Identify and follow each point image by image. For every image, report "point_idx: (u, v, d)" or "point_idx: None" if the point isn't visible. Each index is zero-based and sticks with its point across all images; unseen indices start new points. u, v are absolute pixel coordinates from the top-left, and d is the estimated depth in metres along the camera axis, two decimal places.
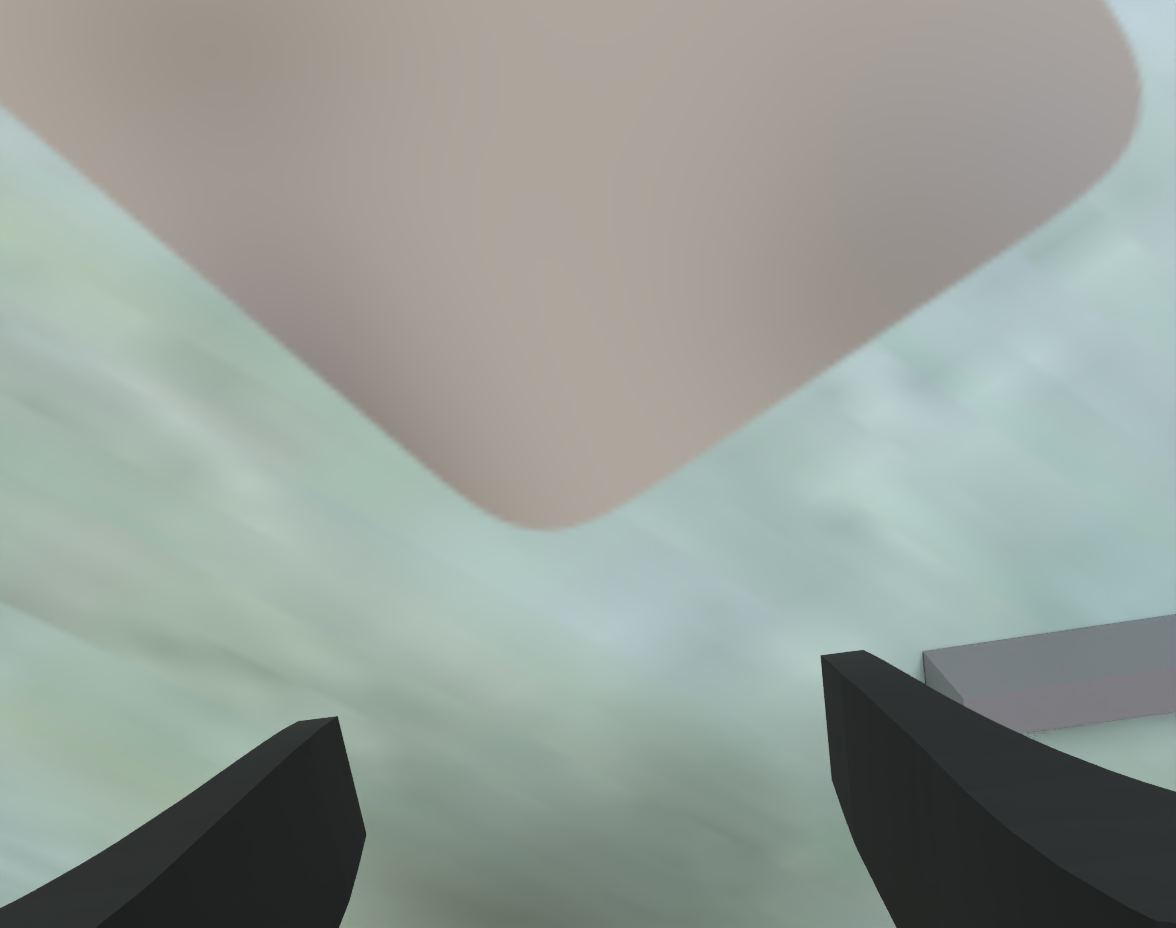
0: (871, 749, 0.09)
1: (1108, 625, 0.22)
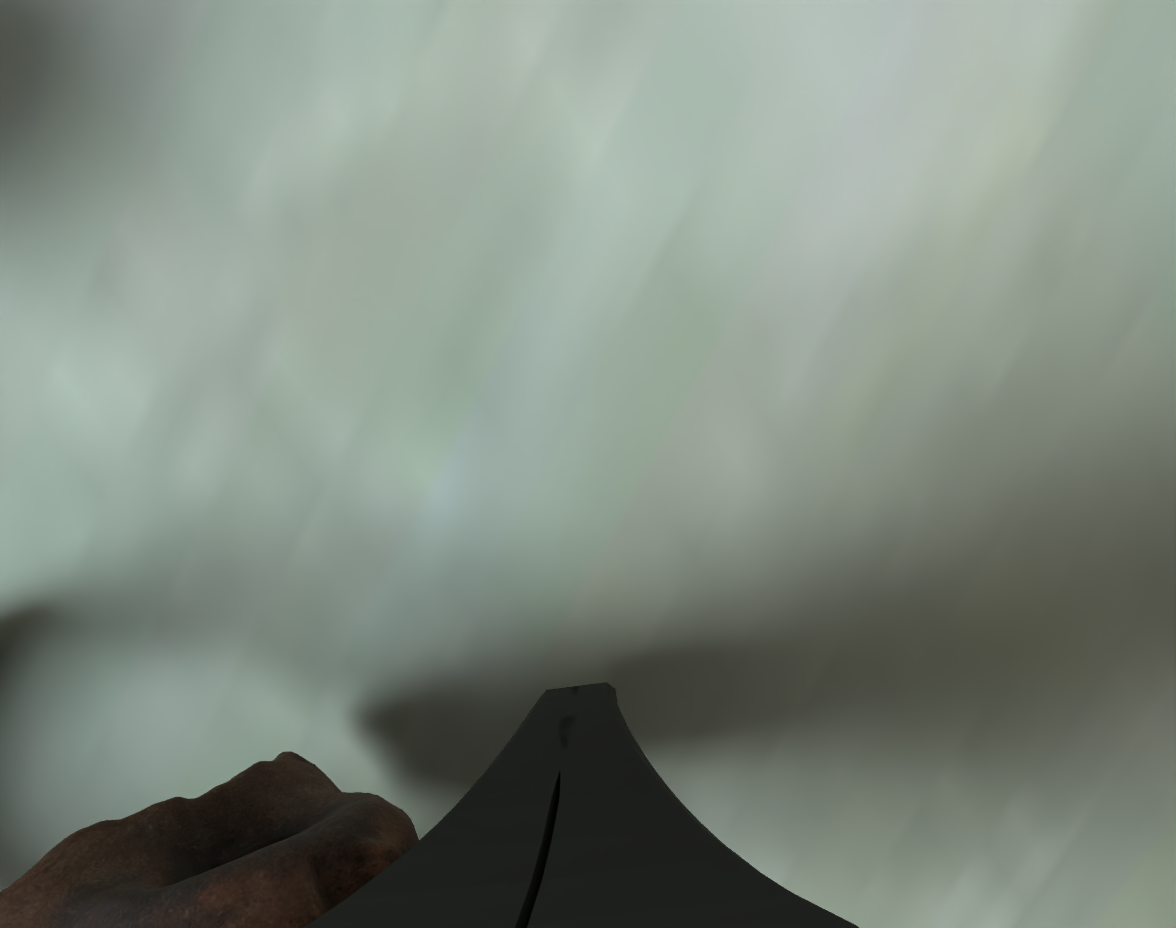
0: None
1: None
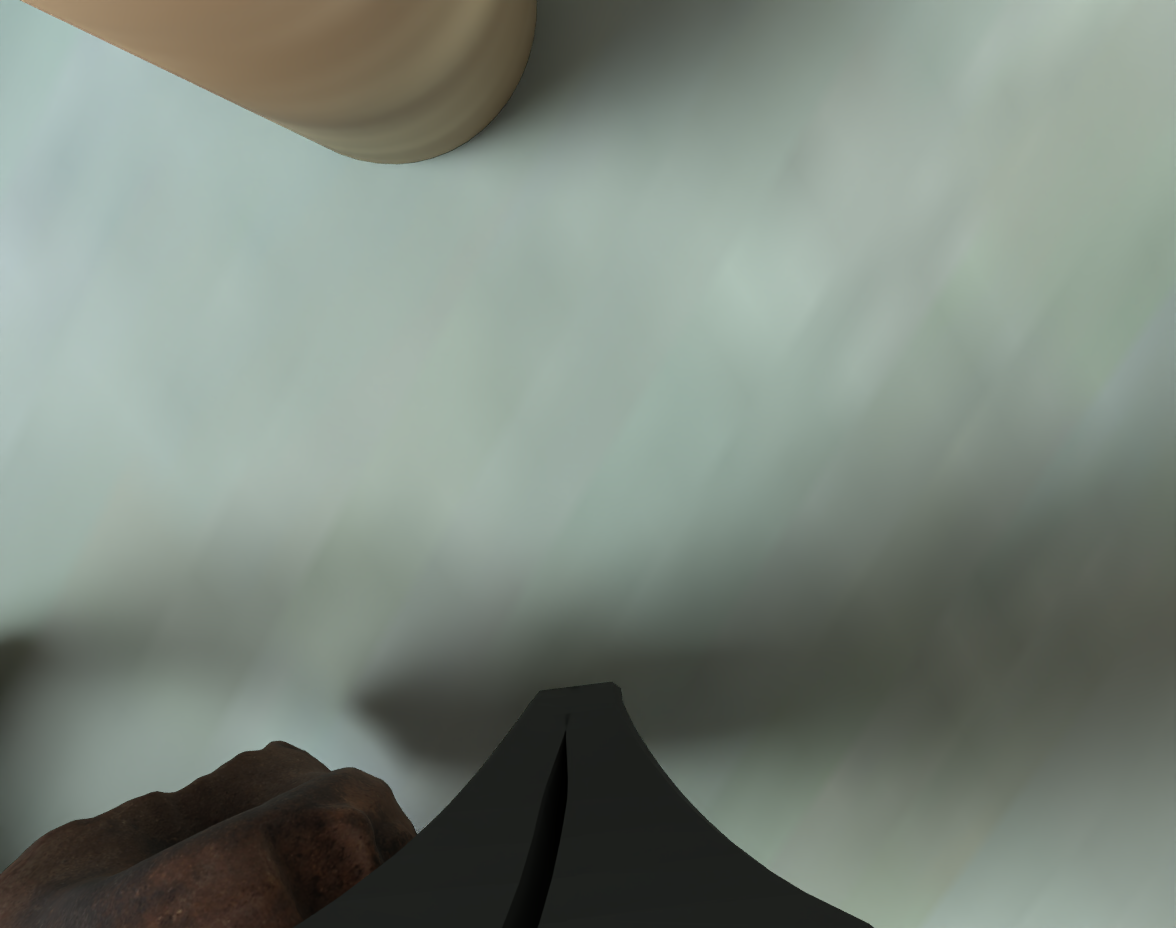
0: None
1: None
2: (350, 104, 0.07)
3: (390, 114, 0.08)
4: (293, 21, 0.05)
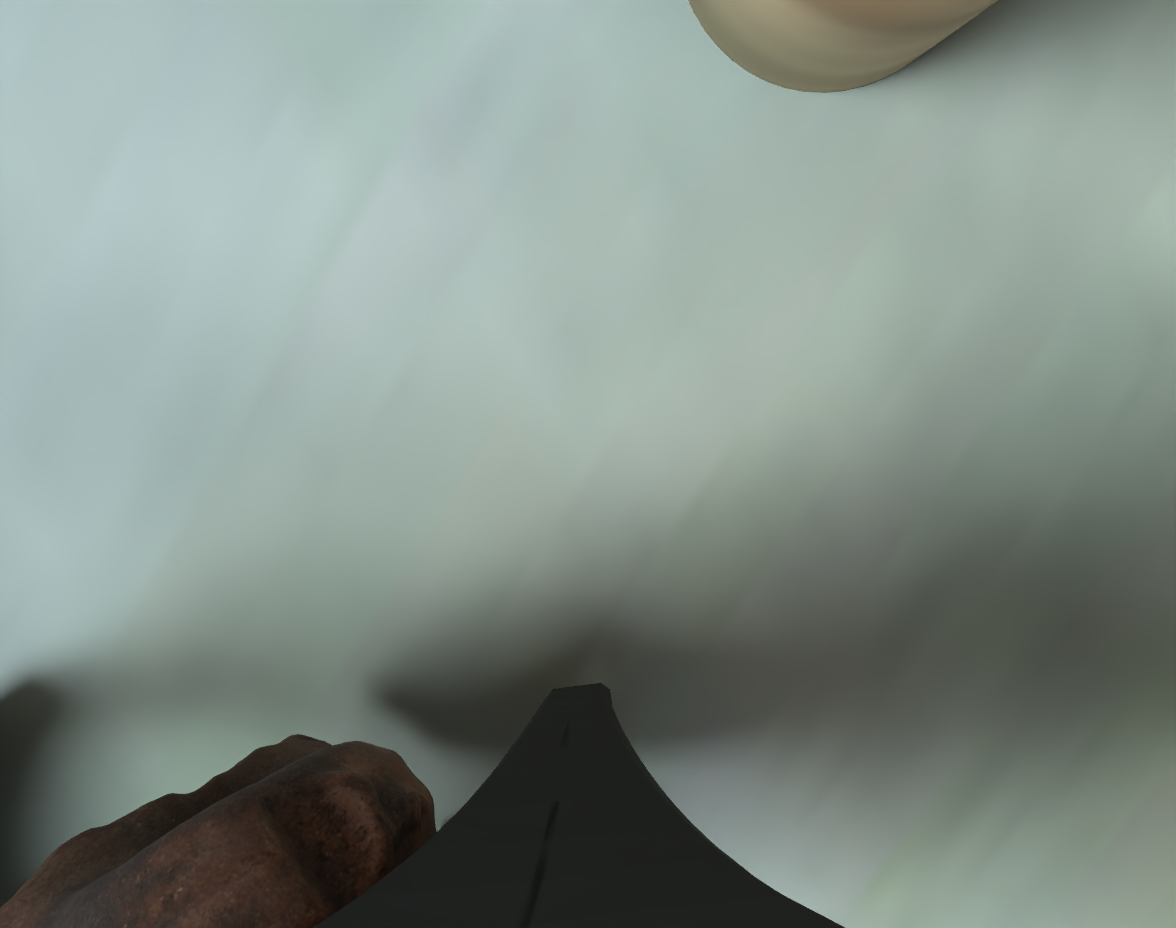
0: None
1: None
2: None
3: (962, 17, 0.08)
4: None
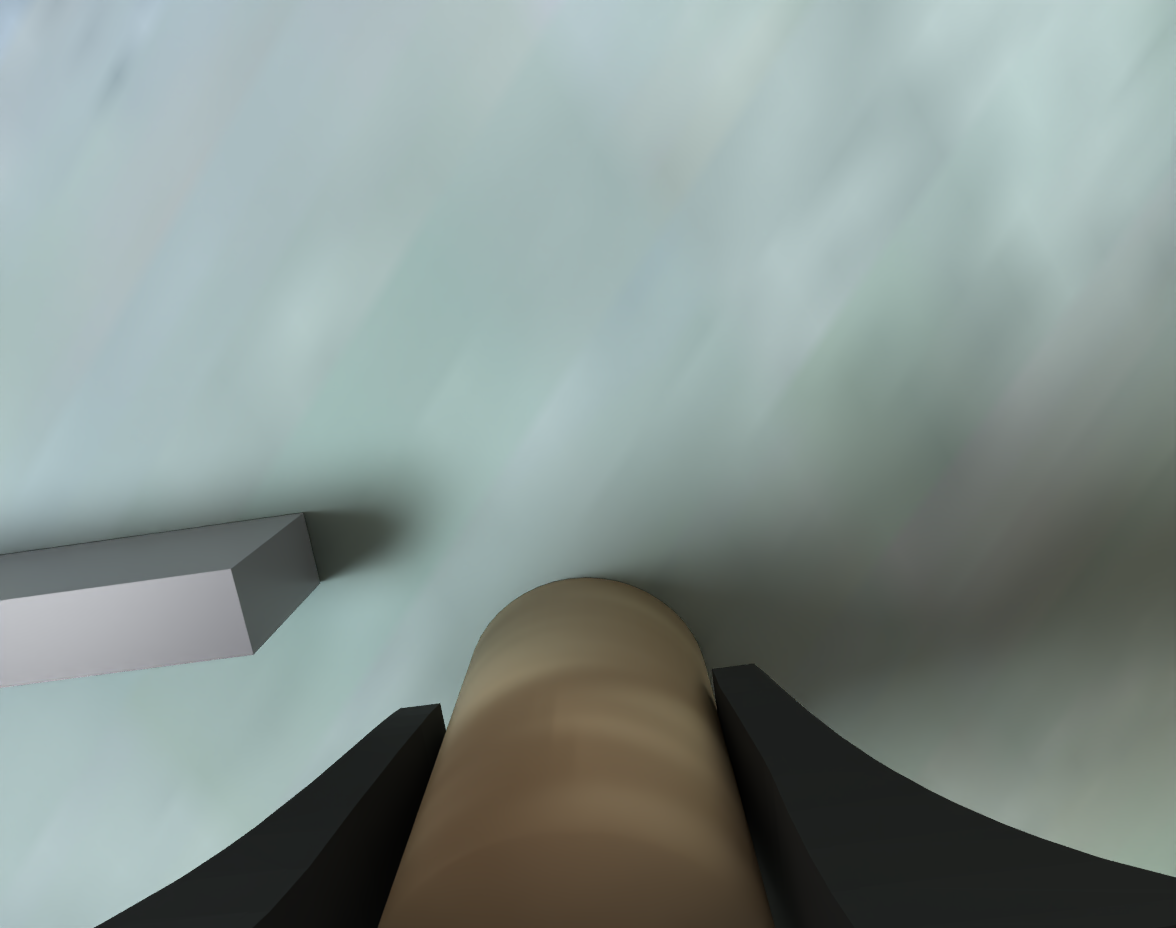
0: (743, 765, 0.09)
1: None
2: None
3: None
4: None
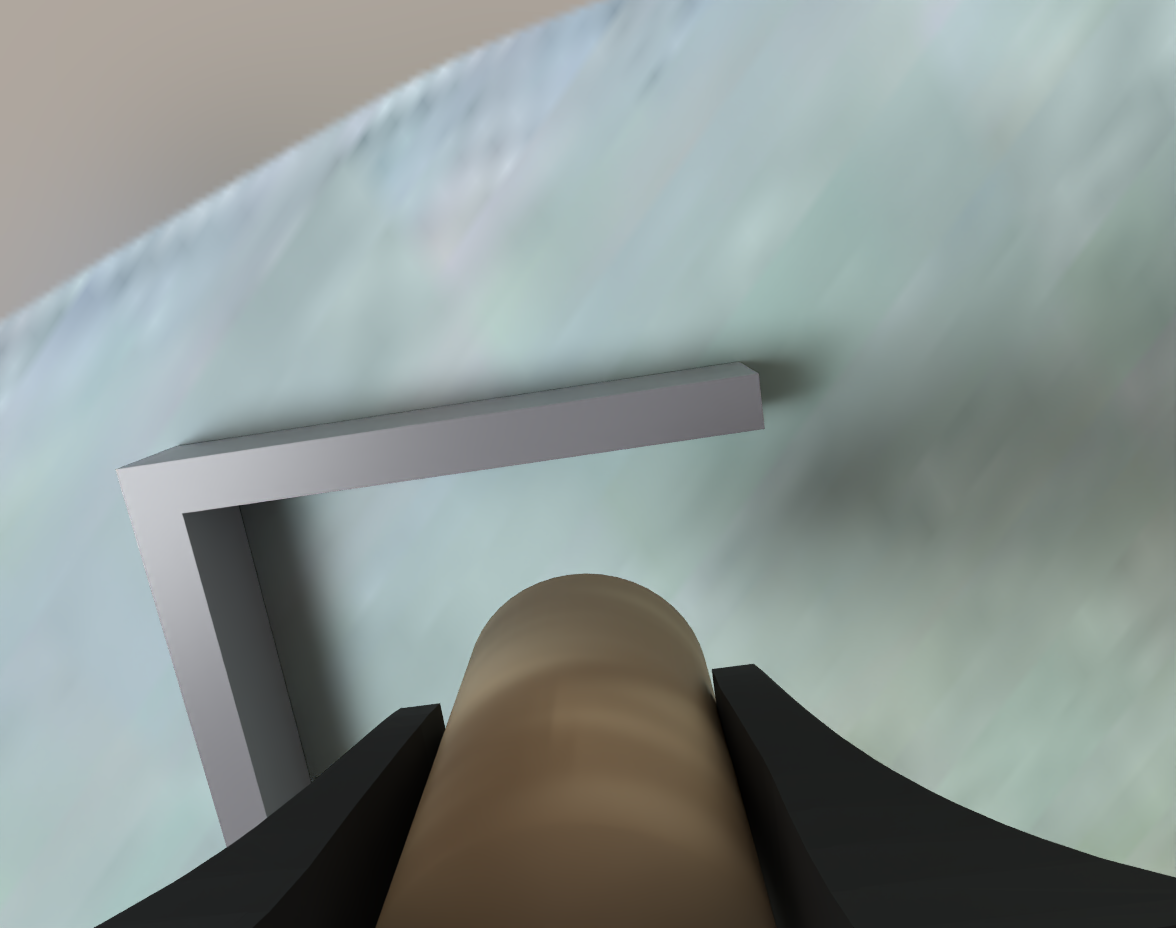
0: (742, 765, 0.09)
1: None
2: None
3: None
4: None
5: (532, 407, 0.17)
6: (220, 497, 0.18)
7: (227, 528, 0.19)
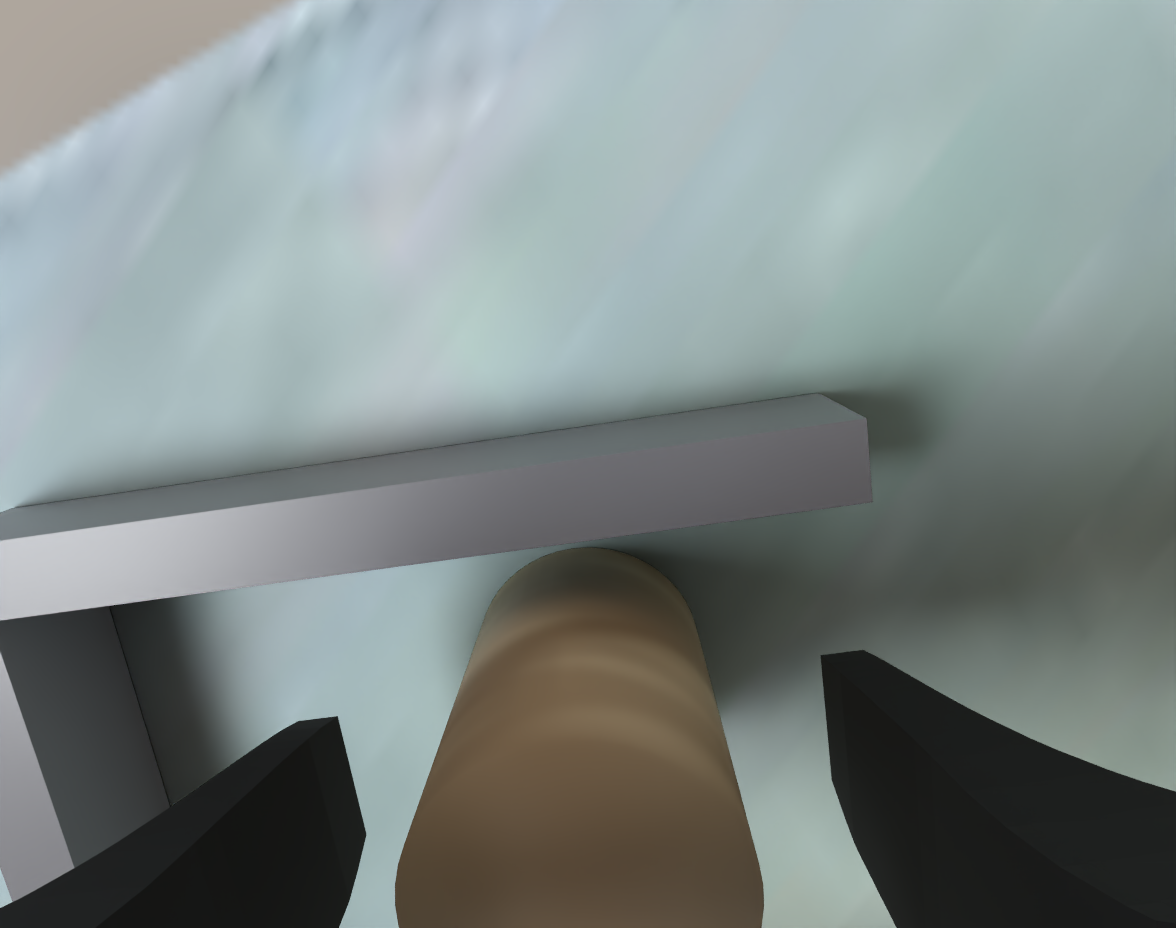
0: (871, 749, 0.09)
1: None
2: None
3: None
4: None
5: (516, 467, 0.11)
6: (46, 598, 0.12)
7: (80, 628, 0.14)
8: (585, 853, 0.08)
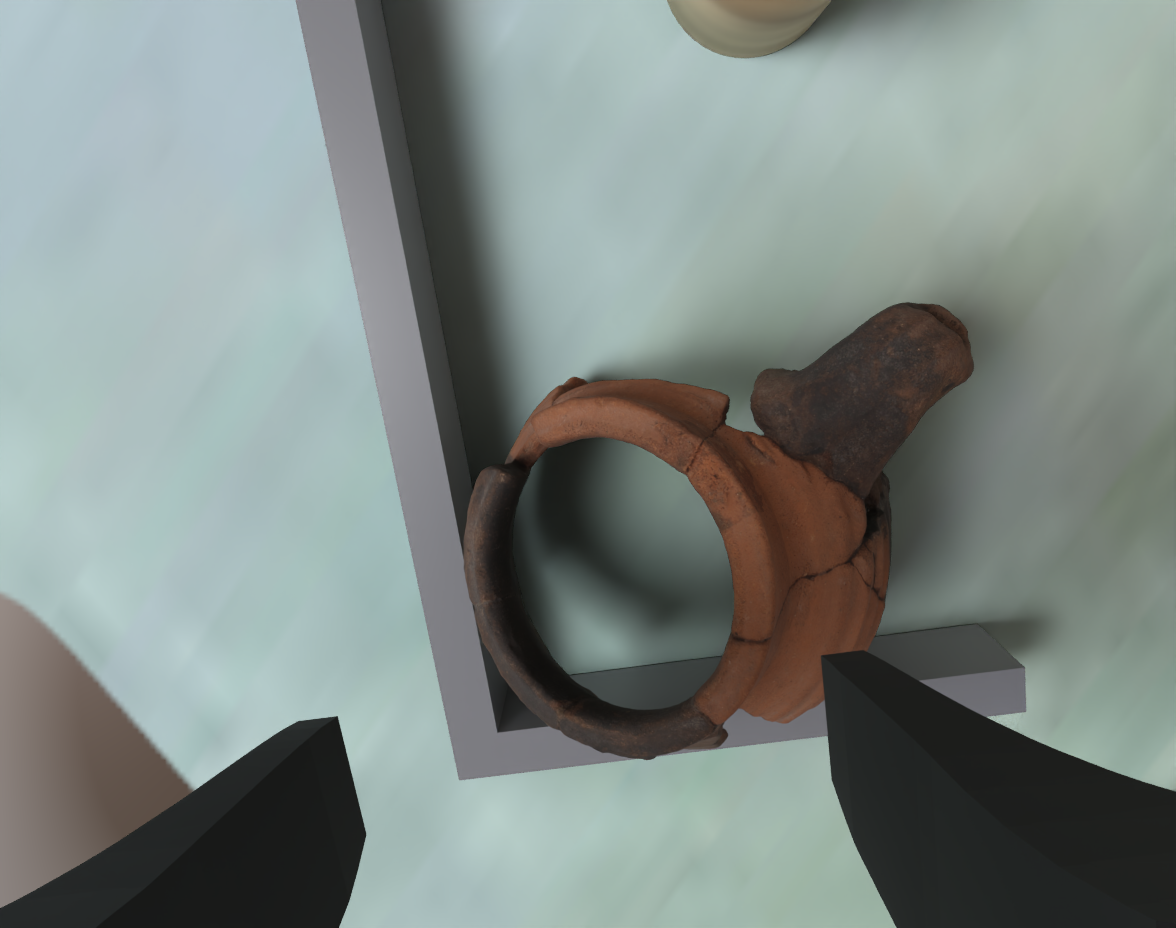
0: (871, 749, 0.09)
1: None
2: (800, 6, 0.15)
3: (801, 15, 0.16)
4: None
5: None
6: None
7: None
8: None
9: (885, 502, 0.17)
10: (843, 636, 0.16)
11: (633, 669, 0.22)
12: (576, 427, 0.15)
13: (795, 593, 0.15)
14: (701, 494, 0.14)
